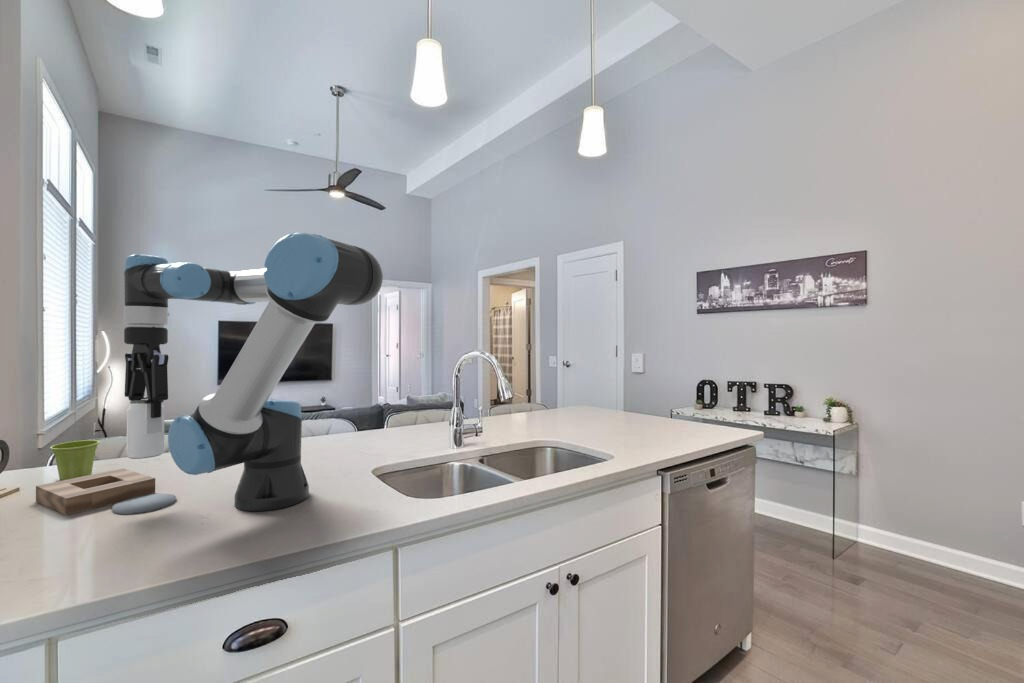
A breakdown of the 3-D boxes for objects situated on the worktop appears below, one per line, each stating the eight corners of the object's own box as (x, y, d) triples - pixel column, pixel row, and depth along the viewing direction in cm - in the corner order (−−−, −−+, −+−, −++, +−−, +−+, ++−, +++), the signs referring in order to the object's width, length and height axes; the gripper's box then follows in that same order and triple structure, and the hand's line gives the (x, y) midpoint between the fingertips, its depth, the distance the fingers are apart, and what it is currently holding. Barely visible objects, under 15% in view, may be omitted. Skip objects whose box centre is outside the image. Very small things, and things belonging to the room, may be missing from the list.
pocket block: (155, 492, 109) (155, 478, 109) (65, 515, 95) (65, 498, 95) (123, 482, 116) (123, 468, 116) (35, 501, 102) (35, 485, 102)
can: (143, 460, 97) (143, 403, 97) (118, 458, 99) (119, 402, 98) (171, 452, 104) (171, 399, 104) (148, 451, 105) (148, 398, 105)
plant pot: (75, 482, 116) (75, 448, 116) (39, 482, 116) (39, 448, 116) (109, 472, 125) (109, 440, 125) (75, 471, 125) (75, 439, 125)
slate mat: (186, 501, 103) (186, 498, 103) (126, 518, 94) (127, 515, 94) (160, 493, 109) (160, 490, 109) (102, 508, 99) (102, 505, 99)
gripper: (188, 326, 100) (187, 432, 100) (144, 327, 109) (144, 424, 109) (148, 325, 93) (147, 439, 93) (105, 326, 102) (104, 429, 102)
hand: (145, 430), depth 101 cm, fingers closed on can, 6 cm apart
